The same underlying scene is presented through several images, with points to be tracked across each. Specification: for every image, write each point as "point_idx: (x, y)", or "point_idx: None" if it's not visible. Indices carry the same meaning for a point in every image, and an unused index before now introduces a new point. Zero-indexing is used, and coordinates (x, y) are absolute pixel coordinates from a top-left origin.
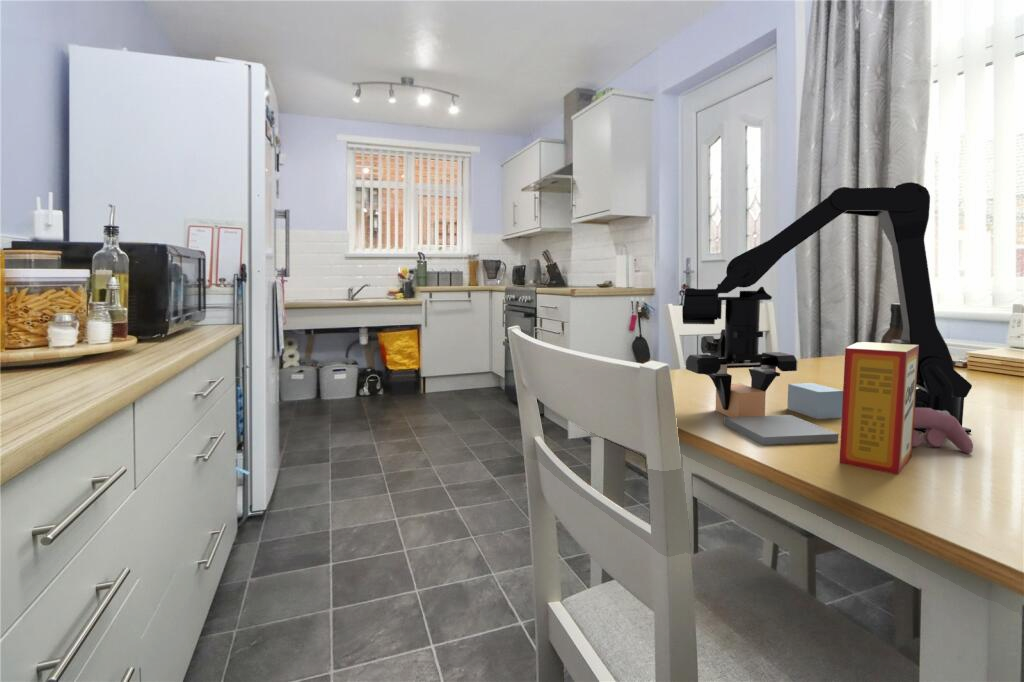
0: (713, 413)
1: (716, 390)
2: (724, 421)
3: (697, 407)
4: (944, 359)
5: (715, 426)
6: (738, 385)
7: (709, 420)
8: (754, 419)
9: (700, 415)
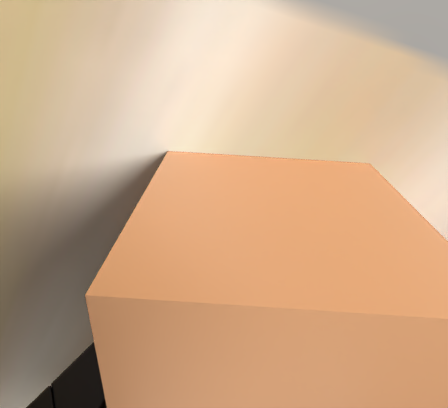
0: (112, 224)
1: (118, 248)
2: None
3: (55, 16)
4: None
5: (33, 397)
6: (363, 405)
7: (35, 331)
8: None
9: (13, 245)
